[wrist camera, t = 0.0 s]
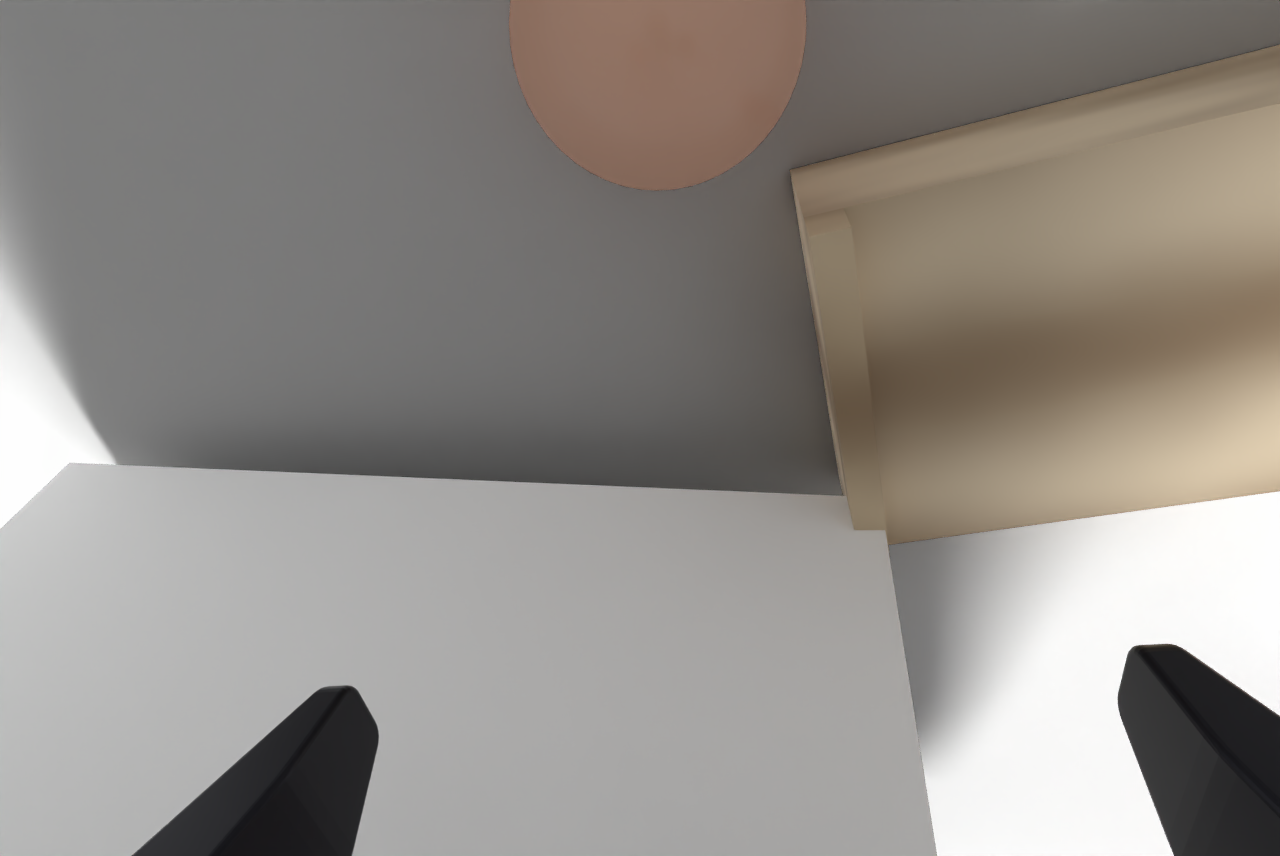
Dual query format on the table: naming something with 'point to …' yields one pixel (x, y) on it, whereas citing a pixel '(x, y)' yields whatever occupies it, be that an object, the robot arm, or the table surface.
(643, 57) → the peach cylinder
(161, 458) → the table surface
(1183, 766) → the robot arm
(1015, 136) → the stand
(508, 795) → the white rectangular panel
